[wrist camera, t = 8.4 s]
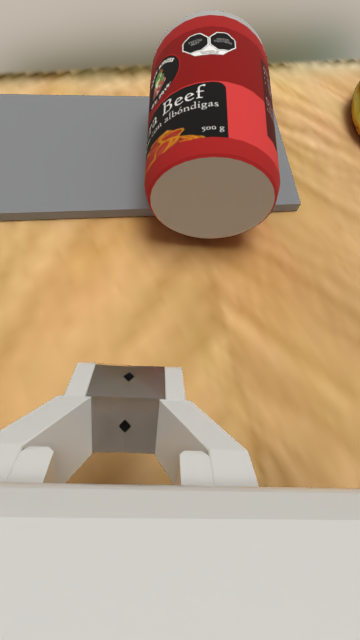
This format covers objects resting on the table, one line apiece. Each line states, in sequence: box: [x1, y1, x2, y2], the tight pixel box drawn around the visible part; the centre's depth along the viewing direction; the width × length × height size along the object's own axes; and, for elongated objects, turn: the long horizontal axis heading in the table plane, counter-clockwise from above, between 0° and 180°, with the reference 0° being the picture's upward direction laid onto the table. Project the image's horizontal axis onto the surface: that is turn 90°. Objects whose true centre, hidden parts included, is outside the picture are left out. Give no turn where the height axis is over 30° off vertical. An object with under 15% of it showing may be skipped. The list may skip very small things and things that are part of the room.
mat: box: [0, 94, 301, 221], centre depth 26 cm, size 11×22×1 cm, turn 97°
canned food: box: [144, 10, 280, 239], centre depth 21 cm, size 8×8×11 cm
